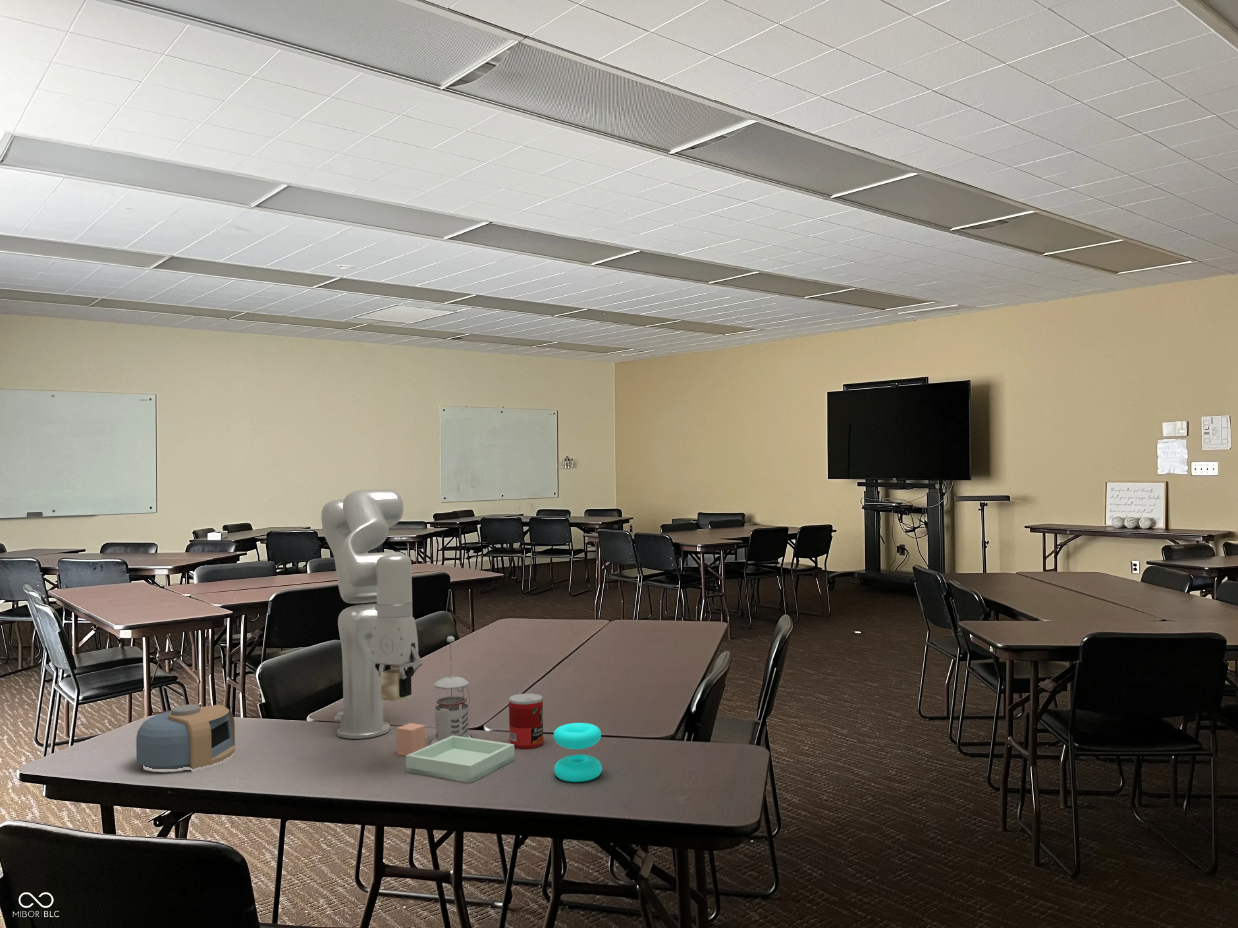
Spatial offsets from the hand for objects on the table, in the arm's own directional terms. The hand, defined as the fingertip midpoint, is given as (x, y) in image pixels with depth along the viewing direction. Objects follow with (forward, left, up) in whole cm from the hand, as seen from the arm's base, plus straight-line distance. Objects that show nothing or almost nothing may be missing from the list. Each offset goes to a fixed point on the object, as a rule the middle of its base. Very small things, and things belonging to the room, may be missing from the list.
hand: (396, 694), depth 193 cm
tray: (+13, +6, -16) cm, 21 cm away
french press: (-1, +21, -16) cm, 26 cm away
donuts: (+39, +11, -16) cm, 44 cm away
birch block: (0, 0, -1) cm, 1 cm away
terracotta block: (-4, +9, -16) cm, 18 cm away
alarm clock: (-48, -16, -16) cm, 53 cm away
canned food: (+17, +25, -16) cm, 34 cm away
